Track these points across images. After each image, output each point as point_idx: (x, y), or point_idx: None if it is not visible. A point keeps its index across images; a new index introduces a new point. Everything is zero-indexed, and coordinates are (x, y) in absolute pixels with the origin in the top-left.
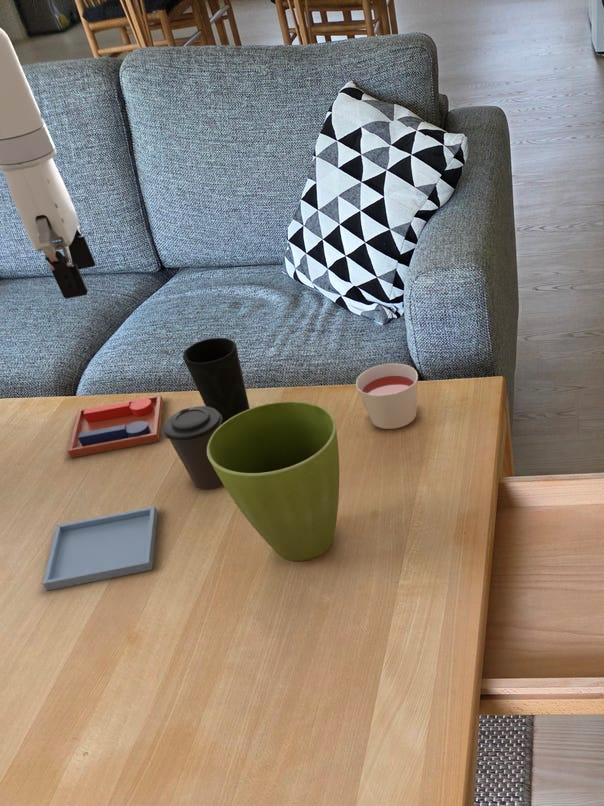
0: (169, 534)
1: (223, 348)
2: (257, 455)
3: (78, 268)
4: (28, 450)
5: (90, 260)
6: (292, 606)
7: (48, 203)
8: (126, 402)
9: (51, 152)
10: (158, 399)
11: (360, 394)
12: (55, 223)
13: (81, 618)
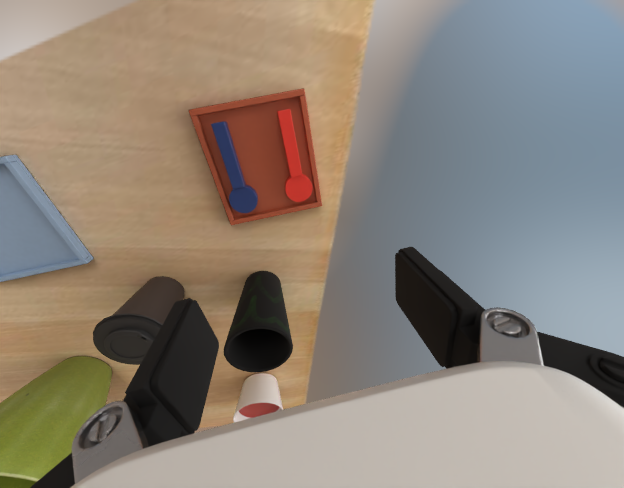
0: (62, 278)
1: (286, 343)
2: (60, 420)
3: (396, 264)
4: (210, 14)
5: (404, 309)
6: (7, 378)
7: None
8: (299, 172)
9: None
10: (310, 206)
11: (245, 401)
12: None
13: None
